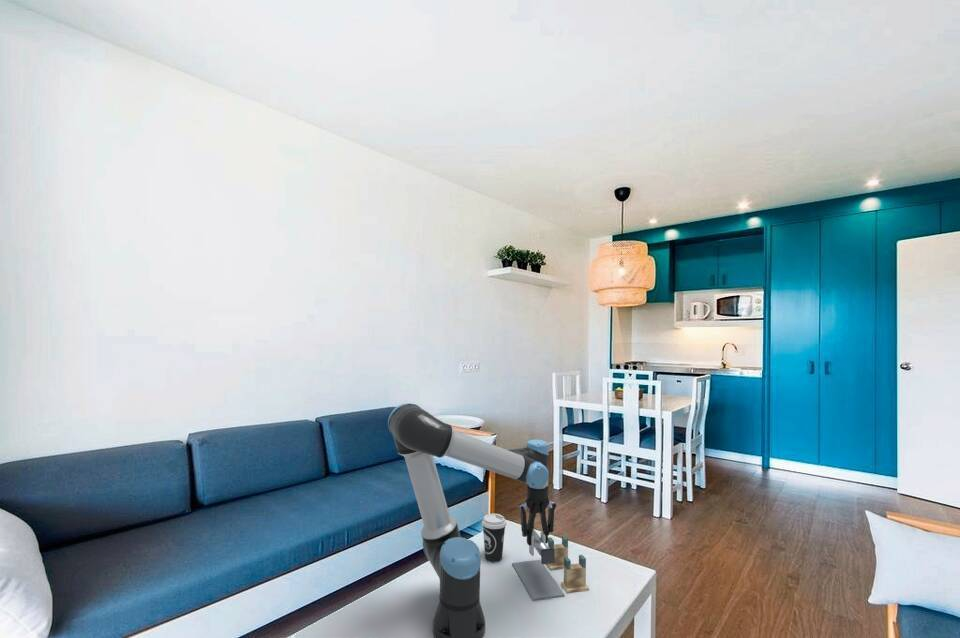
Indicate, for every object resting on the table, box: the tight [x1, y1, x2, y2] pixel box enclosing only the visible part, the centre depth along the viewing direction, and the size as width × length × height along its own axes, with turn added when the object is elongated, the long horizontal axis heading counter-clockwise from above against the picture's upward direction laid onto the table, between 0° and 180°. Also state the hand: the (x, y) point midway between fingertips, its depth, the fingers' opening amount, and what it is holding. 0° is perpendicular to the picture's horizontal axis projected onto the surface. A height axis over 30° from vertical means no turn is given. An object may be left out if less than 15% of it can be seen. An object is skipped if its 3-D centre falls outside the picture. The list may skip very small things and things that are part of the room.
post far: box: [545, 535, 569, 571], centre depth 157 cm, size 8×5×10 cm, turn 103°
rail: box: [521, 522, 555, 565], centre depth 148 cm, size 20×4×4 cm, turn 13°
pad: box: [511, 559, 566, 602], centre depth 148 cm, size 11×22×1 cm, turn 13°
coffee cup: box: [481, 513, 507, 563], centre depth 162 cm, size 10×10×15 cm
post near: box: [560, 554, 590, 594], centre depth 144 cm, size 8×5×10 cm, turn 103°
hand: (537, 553), depth 148 cm, fingers closed on rail, 4 cm apart
